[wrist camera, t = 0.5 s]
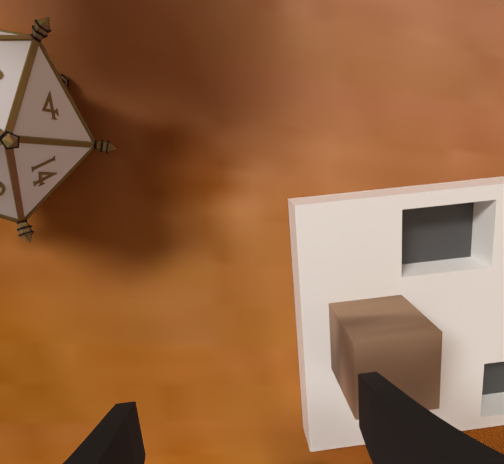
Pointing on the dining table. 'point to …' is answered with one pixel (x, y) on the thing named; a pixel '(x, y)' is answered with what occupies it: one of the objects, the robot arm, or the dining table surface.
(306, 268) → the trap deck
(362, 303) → the walnut block
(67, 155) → the game die
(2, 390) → the dining table surface
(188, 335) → the dining table surface
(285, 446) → the dining table surface
